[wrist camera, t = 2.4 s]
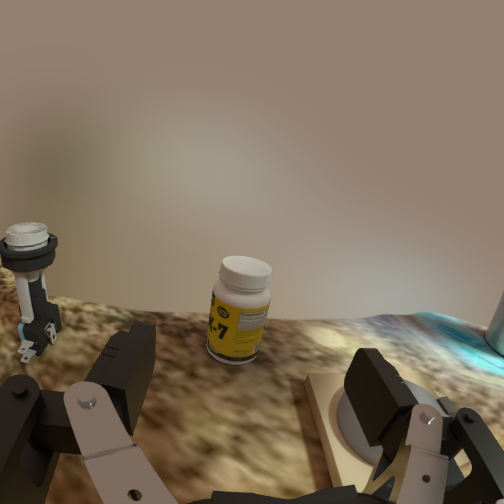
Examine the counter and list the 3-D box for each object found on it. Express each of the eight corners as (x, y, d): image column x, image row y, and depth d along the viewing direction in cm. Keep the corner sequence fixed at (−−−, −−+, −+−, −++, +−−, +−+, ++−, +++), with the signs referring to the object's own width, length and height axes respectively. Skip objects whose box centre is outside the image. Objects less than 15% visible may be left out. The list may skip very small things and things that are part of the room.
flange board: (413, 379, 23) (422, 363, 22) (469, 464, 12) (484, 449, 11) (303, 383, 22) (310, 366, 21) (339, 510, 10) (354, 498, 10)
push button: (51, 375, 16) (26, 249, 13) (1, 359, 15) (-27, 241, 12) (75, 328, 22) (67, 222, 19) (31, 318, 21) (19, 218, 18)
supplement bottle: (198, 337, 26) (208, 253, 23) (243, 332, 28) (259, 253, 25) (217, 370, 22) (231, 277, 19) (266, 361, 24) (288, 275, 21)
